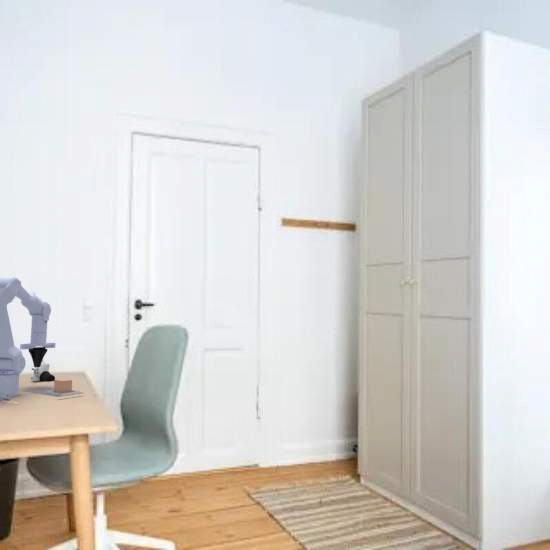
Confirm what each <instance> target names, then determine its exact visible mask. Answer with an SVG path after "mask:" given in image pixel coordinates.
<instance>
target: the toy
mask: <svg viewBox="0 0 550 550" xmlns="http://www.w3.org/2000/svg"><path fill="white" fill-rule="evenodd" d="M31 371H33V375H32V376H31V378H30V379H31V382H33V383H37V382H41V383H44V382H45V383H47V382H54V380H56V376H55V375H54V374H52V373H50V364H49V363H47V362H46V361H44V359H43V360H42V363H41V366H40V367H33V368H31Z"/></svg>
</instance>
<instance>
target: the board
mask: <svg viewBox="0 0 550 550" xmlns="http://www.w3.org/2000/svg"><path fill="white" fill-rule="evenodd" d="M53 390H54V387H44V388H36V389H29V390H24V392H25V393H32V394H39V395H45V396H51V397H57V398H59V399H58V401H61V400H63V398H60V397H62V396H57V395H51V394H46V391H53ZM80 394H83V392H81V391H80V393H79V394H78V398H81V397H83V395H81V396H79V395H80ZM74 395H75V394H72V395H71V396H72V397H71V399H75V398H76V396H74ZM66 396H69V395H65V396H64V397H66ZM66 399H70V397H66V398H64V400H66Z"/></svg>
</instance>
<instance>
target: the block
mask: <svg viewBox="0 0 550 550" xmlns="http://www.w3.org/2000/svg"><path fill="white" fill-rule="evenodd" d="M53 382H54V383H53V388H54V392H57V393H67V392H72V390H73V379H69V378H59V379H55V380H54V381H53Z"/></svg>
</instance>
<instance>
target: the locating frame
mask: <svg viewBox="0 0 550 550" xmlns="http://www.w3.org/2000/svg"><path fill="white" fill-rule="evenodd" d="M80 392H81V391H80V390H74V389H72V392H67V393H57V392H54V390H53V391H46V394H51V395H57V396H61V397H66V396H65V395H68V396H73V395H72V394H74V395H80V394H79V393H80Z"/></svg>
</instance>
